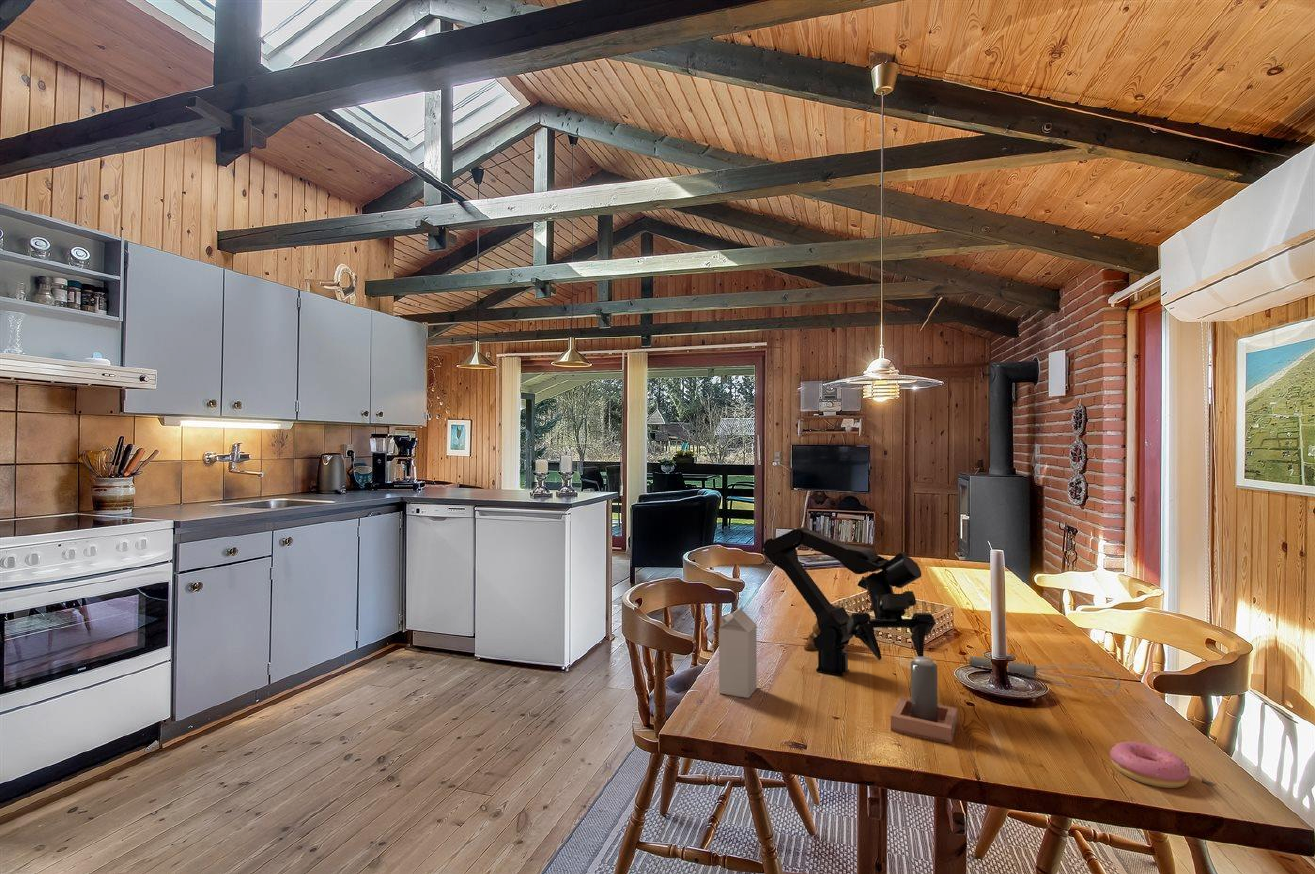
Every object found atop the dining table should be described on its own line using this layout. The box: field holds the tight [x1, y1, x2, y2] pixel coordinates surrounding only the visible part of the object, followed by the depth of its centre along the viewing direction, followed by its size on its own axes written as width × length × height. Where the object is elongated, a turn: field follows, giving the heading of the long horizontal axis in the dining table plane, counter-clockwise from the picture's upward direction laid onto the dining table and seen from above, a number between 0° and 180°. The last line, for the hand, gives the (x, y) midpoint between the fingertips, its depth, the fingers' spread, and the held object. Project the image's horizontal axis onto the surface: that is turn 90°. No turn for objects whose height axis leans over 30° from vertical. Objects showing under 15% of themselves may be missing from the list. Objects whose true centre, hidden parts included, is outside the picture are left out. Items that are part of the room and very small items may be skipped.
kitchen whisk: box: [961, 655, 1122, 697], centre depth 150 cm, size 6×34×6 cm, turn 48°
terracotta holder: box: [890, 696, 958, 745], centre depth 124 cm, size 11×11×3 cm
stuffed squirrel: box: [803, 603, 840, 651], centre depth 175 cm, size 10×14×13 cm
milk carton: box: [718, 605, 758, 699], centre depth 143 cm, size 7×7×19 cm
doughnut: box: [1108, 740, 1191, 789], centre depth 106 cm, size 11×11×4 cm
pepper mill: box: [910, 656, 939, 723], centre depth 124 cm, size 5×5×13 cm
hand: (901, 659), depth 134 cm, fingers open, 9 cm apart
